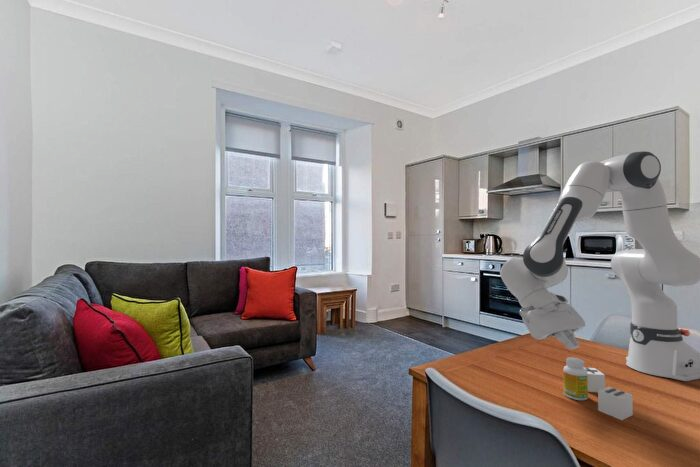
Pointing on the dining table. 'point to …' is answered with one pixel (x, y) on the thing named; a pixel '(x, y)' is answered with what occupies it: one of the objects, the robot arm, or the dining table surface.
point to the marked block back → (595, 380)
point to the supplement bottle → (575, 379)
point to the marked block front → (615, 403)
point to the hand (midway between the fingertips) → (575, 347)
